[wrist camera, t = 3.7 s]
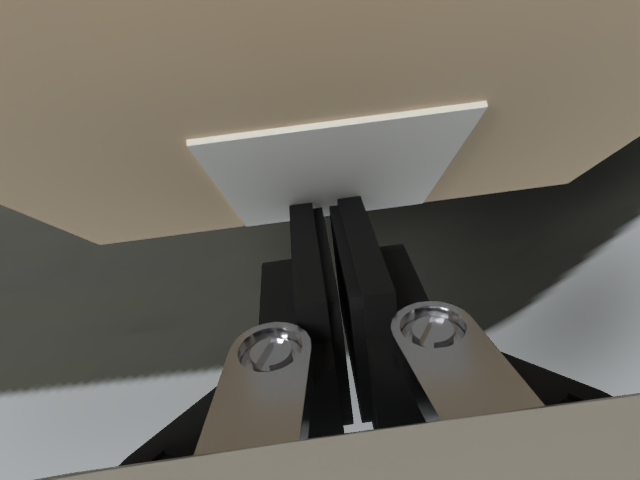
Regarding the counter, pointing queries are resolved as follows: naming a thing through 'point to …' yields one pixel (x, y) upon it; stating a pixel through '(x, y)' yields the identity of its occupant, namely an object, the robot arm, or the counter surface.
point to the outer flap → (301, 105)
